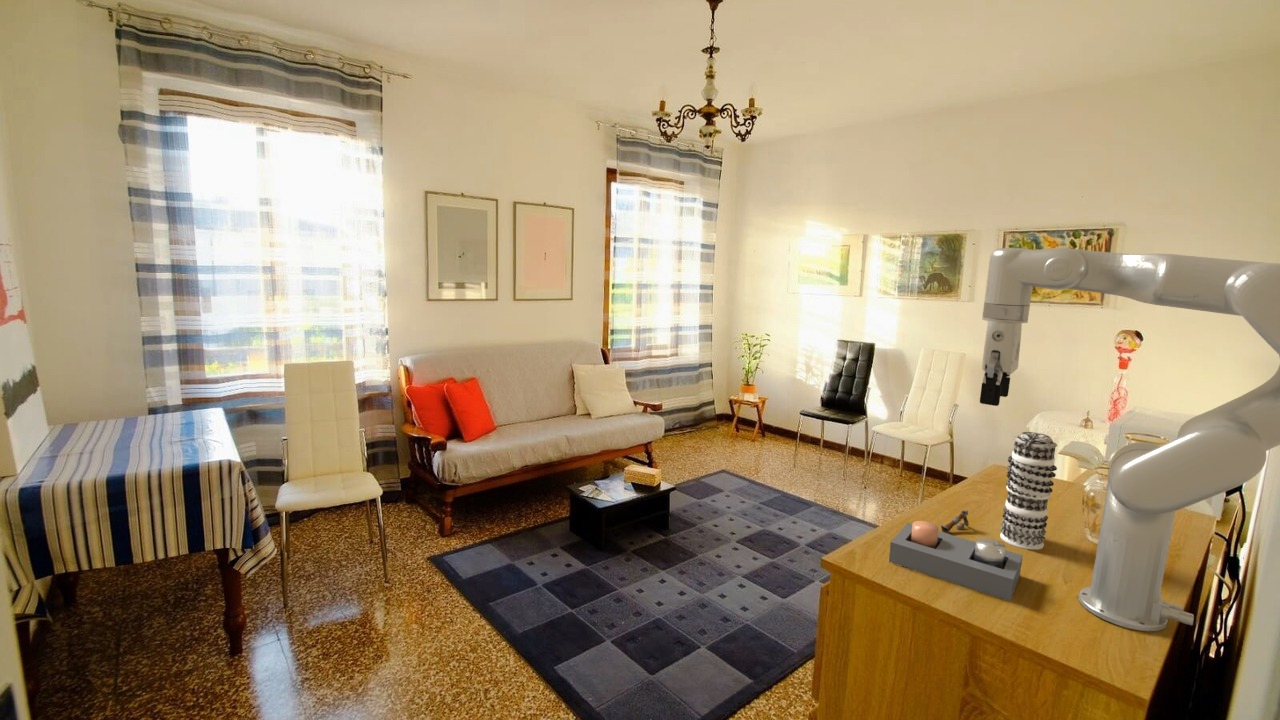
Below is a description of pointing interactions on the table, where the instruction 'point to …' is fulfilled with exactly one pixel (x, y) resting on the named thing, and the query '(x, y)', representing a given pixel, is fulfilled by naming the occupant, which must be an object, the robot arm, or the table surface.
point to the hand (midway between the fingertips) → (993, 399)
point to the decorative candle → (1028, 490)
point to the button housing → (957, 563)
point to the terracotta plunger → (925, 533)
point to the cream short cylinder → (989, 552)
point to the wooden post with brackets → (956, 520)
